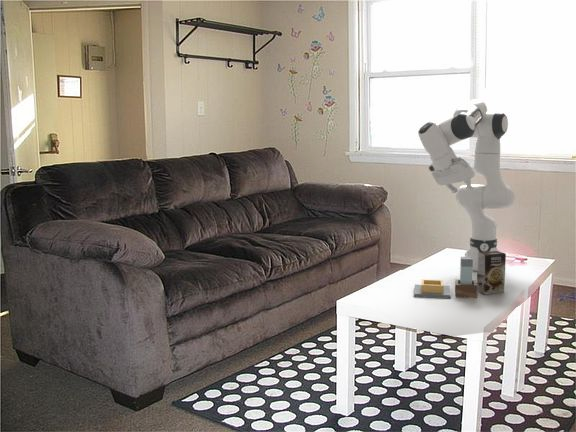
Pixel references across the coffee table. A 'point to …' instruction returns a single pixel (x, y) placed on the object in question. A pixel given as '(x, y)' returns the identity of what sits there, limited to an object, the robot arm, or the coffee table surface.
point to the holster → (466, 289)
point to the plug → (466, 270)
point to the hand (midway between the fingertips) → (462, 191)
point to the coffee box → (491, 272)
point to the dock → (432, 289)
